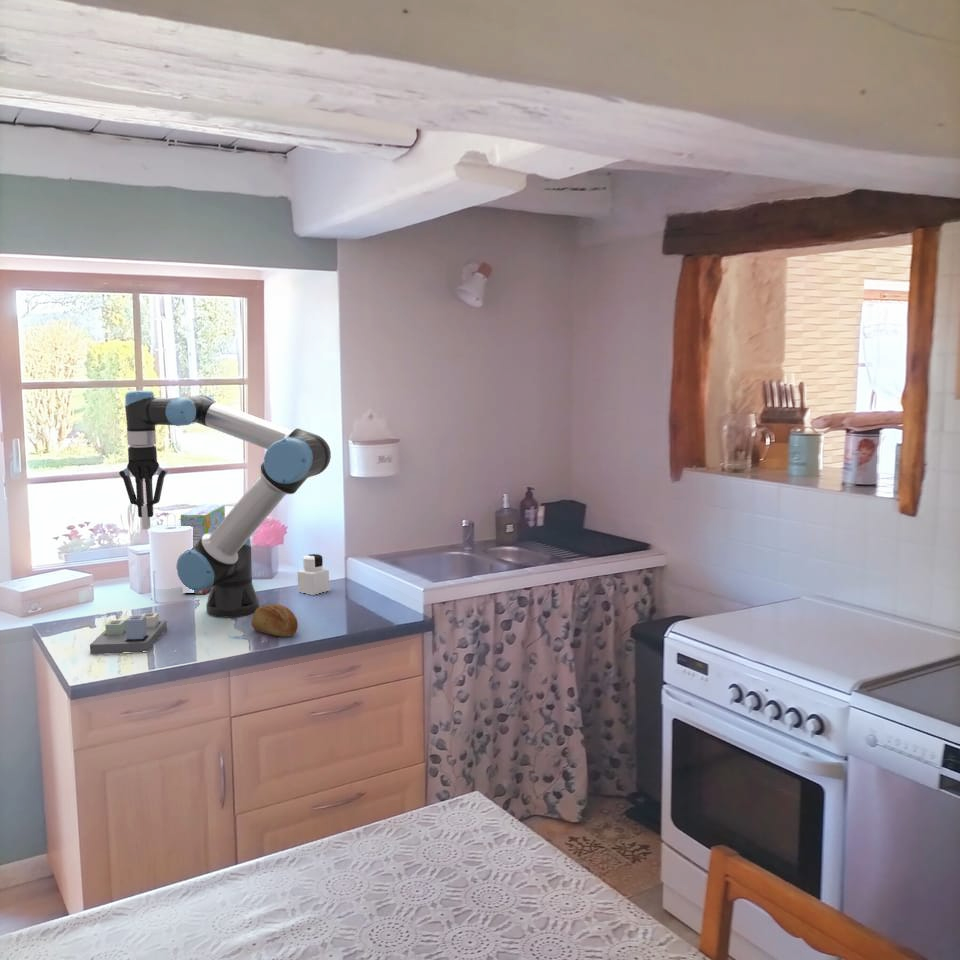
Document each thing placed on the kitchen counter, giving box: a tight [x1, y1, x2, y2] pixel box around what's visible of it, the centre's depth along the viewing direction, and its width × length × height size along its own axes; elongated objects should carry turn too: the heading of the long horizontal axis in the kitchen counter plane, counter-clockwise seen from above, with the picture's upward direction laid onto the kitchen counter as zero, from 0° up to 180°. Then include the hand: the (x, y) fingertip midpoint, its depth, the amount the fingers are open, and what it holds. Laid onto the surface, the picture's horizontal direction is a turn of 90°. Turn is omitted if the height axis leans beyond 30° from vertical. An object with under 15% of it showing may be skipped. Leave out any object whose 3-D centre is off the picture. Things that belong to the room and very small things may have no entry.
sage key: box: [104, 619, 126, 635], centre depth 239 cm, size 4×4×5 cm
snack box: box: [180, 504, 226, 595], centre depth 295 cm, size 22×9×26 cm, turn 179°
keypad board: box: [89, 619, 168, 655], centre depth 240 cm, size 14×20×2 cm
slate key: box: [124, 615, 147, 639], centre depth 233 cm, size 4×4×5 cm
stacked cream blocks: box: [297, 553, 330, 596], centre depth 288 cm, size 7×7×12 cm
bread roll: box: [251, 603, 299, 637], centre depth 246 cm, size 10×15×8 cm, turn 55°
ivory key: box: [140, 612, 160, 628], centre depth 246 cm, size 4×4×5 cm
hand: (146, 528), depth 257 cm, fingers closed
